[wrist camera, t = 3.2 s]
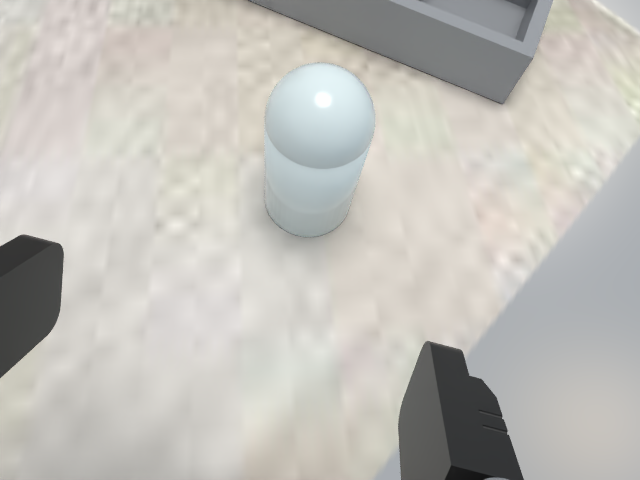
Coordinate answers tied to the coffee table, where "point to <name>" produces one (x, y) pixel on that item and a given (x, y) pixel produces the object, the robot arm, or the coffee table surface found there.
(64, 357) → the coffee table surface
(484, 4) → the tray
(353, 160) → the pale blue dome-topped cylinder
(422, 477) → the robot arm
